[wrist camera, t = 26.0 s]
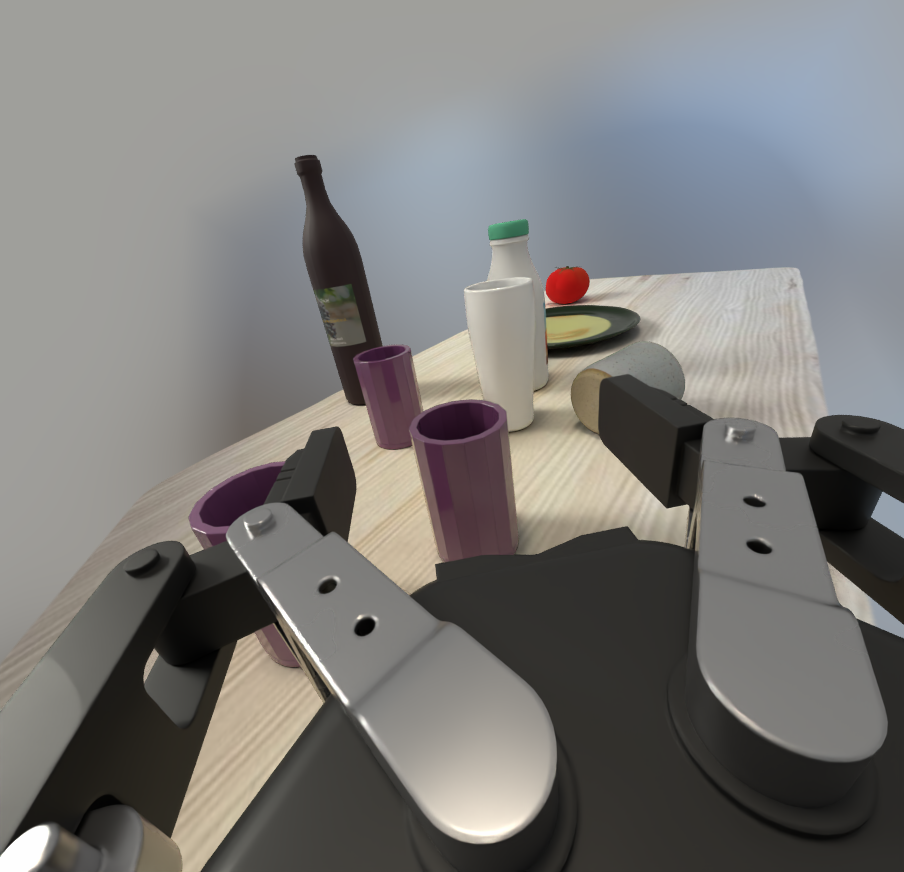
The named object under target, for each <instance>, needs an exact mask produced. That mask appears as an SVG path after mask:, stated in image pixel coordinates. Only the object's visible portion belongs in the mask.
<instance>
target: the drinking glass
mask: <svg viewBox="0 0 904 872" xmlns="http://www.w3.org/2000/svg"><path fill="white" fill-rule="evenodd" d="M464 298H465V310H466V318H467V325H468V331H469V337H470V341H471V346H472V351H473V355H474V360H475V364H476V369H477V374H478V378H479V383H480V387H481V392H482V397H483V400H486V401H490V402H493V403H496V404H499V405H500V406H501V407H502V408H503V409H505V410H506V412H507V420H508V431H509V432H511V431H517V430H521V429H523V428H526V427H527V426H529V425H530V424H531V423H532V421H533V419H534V406H533V394H534V361H535V332H536V316H535V298H534V288H533V280H532V279H531V278H527V277H515V278H504V279H497V280H491V281H486V282H481V283H477V284H473V285H470V286H468V287H466V288H465V289H464Z"/></svg>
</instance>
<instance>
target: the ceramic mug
mask: <svg viewBox="0 0 904 872" xmlns="http://www.w3.org/2000/svg"><path fill="white" fill-rule="evenodd" d="M625 374H630V375H632V376H633V377H635V378H637V379H638V380H640V381H642V382H643V383H645V384H647V385H648V386H650V387H654V388H657V389H661V390H664V391H666V392H668V393H670V394H672V395H673V396H675V397H677V399H680V400H681V399H682V397H683V394H684V390H685V378H684V374H683V371H682V368H681V366H680V364H679V362H678V361H677V359H676V358H675V357H674V356H673V354H672V353H670V352H669V351H668V350H667V349H666V348H664V347H663V346H661V345H659V344H656V343H653V342H637V343H634V344H631V345H629V346H627V347H625V348H624V349H622V350H620V351H618V352H616V353H614V354H612V355H610V356H608V357H606V358H604V359H602V360H599V361H597V362H595V363H593V364H591V365H590V366H588V367H587V368H585V369H584V370H583V371H582V372H580V373H579V374H578V375H577V377H576V378H575V379H574V381H573V384H572V388H571V401H572V405H573V408H574V411H575V413H576V415H577V416H578V418H579V419H580V421H581V422H582V423H583V424H584V425H585V426H586V427H587V428H588V429H590V430H591V431H593V432H595V433H597V434H599V430H598V414H599V388H600V383H601V381H602V379H604V378H608V377H614V376H619V375H625Z"/></svg>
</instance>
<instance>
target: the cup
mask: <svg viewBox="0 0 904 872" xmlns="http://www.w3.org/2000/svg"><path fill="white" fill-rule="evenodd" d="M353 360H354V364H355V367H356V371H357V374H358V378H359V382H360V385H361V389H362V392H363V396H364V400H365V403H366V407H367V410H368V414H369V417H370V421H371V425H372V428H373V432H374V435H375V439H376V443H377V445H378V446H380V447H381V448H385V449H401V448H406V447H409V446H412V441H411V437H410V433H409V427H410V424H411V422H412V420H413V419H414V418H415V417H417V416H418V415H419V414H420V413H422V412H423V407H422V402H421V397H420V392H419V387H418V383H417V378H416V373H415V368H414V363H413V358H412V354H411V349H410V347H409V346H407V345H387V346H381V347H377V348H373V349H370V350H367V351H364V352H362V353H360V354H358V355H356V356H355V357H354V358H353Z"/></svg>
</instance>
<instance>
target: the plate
mask: <svg viewBox="0 0 904 872" xmlns="http://www.w3.org/2000/svg"><path fill="white" fill-rule="evenodd" d="M639 322H640V316H639V315H638V314H637V313H635V312H633V311H631V310H628V309H625V308H621V307H613V306H596V305H576V306H562V307H553V308H547V309H546V329H547V349H556V348H566V347H574V346H580V345H586V344H591V343H595V342H599V341H602V340H606V339H609V338H612V337H615V336H617V335H619V334H622V333H623V332H625V331H628V330H630V329H632V328H633V327H635V326H636V325H637V324H638V323H639Z"/></svg>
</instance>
